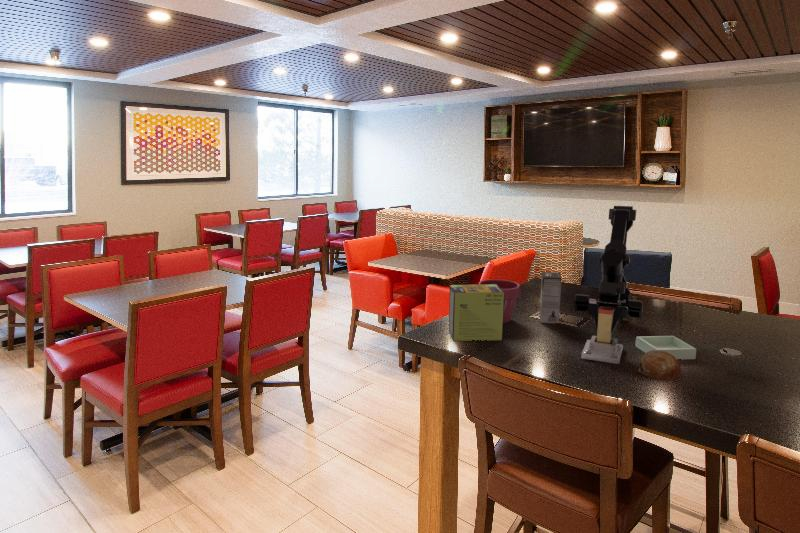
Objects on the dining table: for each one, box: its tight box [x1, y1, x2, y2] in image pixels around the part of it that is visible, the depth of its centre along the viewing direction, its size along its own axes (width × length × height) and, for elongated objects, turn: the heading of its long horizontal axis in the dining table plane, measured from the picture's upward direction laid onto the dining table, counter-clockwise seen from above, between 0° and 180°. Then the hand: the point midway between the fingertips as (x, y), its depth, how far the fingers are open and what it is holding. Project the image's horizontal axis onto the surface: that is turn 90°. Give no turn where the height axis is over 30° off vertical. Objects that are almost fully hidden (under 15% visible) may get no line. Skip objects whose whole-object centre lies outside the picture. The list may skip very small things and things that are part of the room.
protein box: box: [448, 284, 504, 342], centre depth 173 cm, size 10×15×16 cm
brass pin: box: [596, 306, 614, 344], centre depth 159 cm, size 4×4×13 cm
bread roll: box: [637, 350, 682, 381], centre depth 145 cm, size 10×10×8 cm
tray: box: [634, 335, 697, 361], centre depth 160 cm, size 12×12×3 cm
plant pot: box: [478, 278, 521, 324], centre depth 191 cm, size 14×14×13 cm
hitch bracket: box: [580, 335, 624, 365], centre depth 159 cm, size 13×10×4 cm
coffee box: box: [539, 271, 563, 324], centre depth 190 cm, size 9×6×16 cm
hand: (604, 331), depth 158 cm, fingers closed on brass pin, 4 cm apart
